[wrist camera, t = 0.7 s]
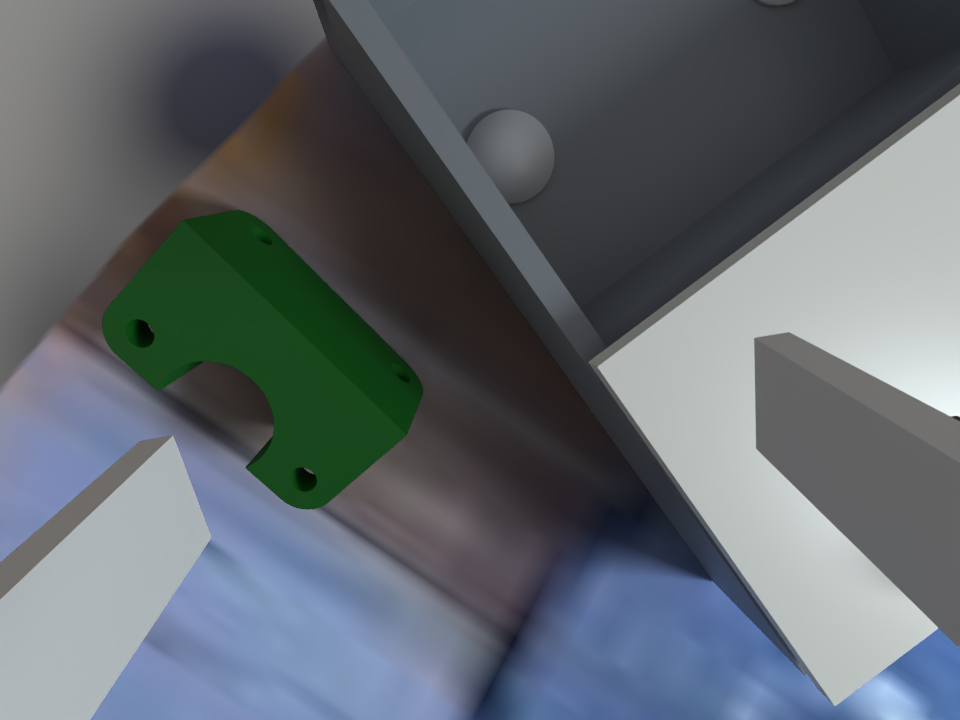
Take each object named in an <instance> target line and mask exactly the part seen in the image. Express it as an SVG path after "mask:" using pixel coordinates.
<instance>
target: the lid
mask: <svg viewBox="0 0 960 720" xmlns="http://www.w3.org/2000/svg"><path fill="white" fill-rule="evenodd" d="M786 332H790V333H792V334H794V335H796V336H798V337H800V338H801V339H803V340H805V341H807V342H809V343H811V344H813V345H815V346H817V347H819V348H821V349H822V350H824V351H826V352H828V353H830V354H832V355H834V356H836V357H838V358H840V359H842V360H843V361H845V362H847V363H849V364H851V365H853V366H855V367H857V368H859V369H861V370H863V371H864V372H866V373H868V374H870V375H872V376H874V377H876V378H878V379H880V380H882V381H884V382H885V383H887V384H889V385H891V386H893V387H895V388H897V389H899V390H901V391H903V392H905V393H906V394H908V395H910V396H912V397H914V398H916V399H918V400H920V401H922V402H924V403H926V404H927V405H929V406H931V407H933V408H935V409H937V410H939V411H941V412H943V413H945V414H947V415H948V416H950V417H951V416H959V417H960V84H958V85H957V86H956V87H954V88H953V89H952V90H950V91H949V92H948V93H946V94H945V95H944V96H942V97H941V98H940V99H938V100H937V101H936V102H934V103H933V104H932V105H930V106H929V107H928V108H926V109H925V110H924V111H922V112H921V113H920V114H918V115H917V116H916V117H914V118H913V119H912V120H910V121H909V122H908V123H906V124H905V125H904V126H902V127H901V128H900V129H898V130H897V131H896V132H894V133H893V134H892V135H890V136H889V137H888V138H886V139H885V140H884V141H882V142H881V143H880V144H878V145H877V146H876V147H874V148H873V149H872V150H870V151H869V152H868V153H866V154H865V155H864V156H862V157H861V158H860V159H858V160H857V161H856V162H854V163H853V164H852V165H850V166H849V167H848V168H846V169H845V170H844V171H842V172H841V173H840V174H838V175H837V176H836V177H834V178H833V179H832V180H830V181H829V182H828V183H826V184H825V185H824V186H822V187H821V188H820V189H818V190H817V191H816V192H814V193H813V194H812V195H810V196H809V197H808V198H806V199H805V200H804V201H802V202H801V203H800V204H798V205H797V206H796V207H794V208H793V209H792V210H790V211H789V212H788V213H786V214H785V215H784V216H782V217H781V218H780V219H778V220H777V221H776V222H774V223H773V224H772V225H770V226H769V227H768V228H766V229H765V230H764V231H762V232H761V233H760V234H758V235H757V236H756V237H754V238H753V239H752V240H750V241H749V242H748V243H746V244H745V245H744V246H742V247H741V248H740V249H738V250H737V251H736V252H734V253H733V254H732V255H730V256H729V257H728V258H726V259H725V260H724V261H722V262H721V263H720V264H718V265H717V266H716V267H714V268H713V269H712V270H710V271H709V272H708V273H706V274H705V275H704V276H702V277H701V278H700V279H698V280H697V281H696V282H694V283H693V284H692V285H690V286H689V287H688V288H686V289H685V290H684V291H682V292H681V293H680V294H678V295H677V296H676V297H674V298H673V299H672V300H670V301H669V302H668V303H666V304H665V305H664V306H662V307H661V308H660V309H658V310H657V311H656V312H654V313H653V314H652V315H650V316H649V317H648V318H646V319H645V320H644V321H642V322H641V323H640V324H638V325H637V326H636V327H634V328H633V329H632V330H630V331H629V332H628V333H626V334H625V335H624V336H622V337H621V338H620V339H618V340H617V341H616V342H614V343H613V344H612V345H610V346H609V347H608V348H606V349H605V350H604V351H602V352H601V353H600V354H598V355H597V356H596V357H594V358H593V359H592V360H590V361H589V364H590V365H591V367H592V368H593V370H594V371H595V372H596V374H597V375H598V377H599V378H600V380H601V381H602V382H603V384H604V385H605V387H606V388H607V390H608V391H609V392H610V394H611V395H612V397H613V398H614V400H615V401H616V402H617V404H618V405H619V407H620V408H621V409H622V411H623V412H624V414H625V415H626V417H627V418H628V419H629V421H630V422H631V424H632V425H633V427H634V428H635V429H636V431H637V432H638V434H639V435H640V437H641V438H642V439H643V441H644V442H645V444H646V445H647V447H648V448H649V449H650V451H651V452H652V454H653V455H654V456H655V458H656V459H657V461H658V462H659V464H660V465H661V466H662V468H663V469H664V471H665V472H666V474H667V475H668V476H669V478H670V479H671V481H672V482H673V484H674V485H675V486H676V488H677V489H678V491H679V492H680V494H681V495H682V496H683V498H684V499H685V501H686V502H687V504H688V505H689V506H690V508H691V509H692V511H693V512H694V513H695V515H696V516H697V518H698V519H699V521H700V522H701V523H702V525H703V526H704V528H705V529H706V531H707V532H708V533H709V535H710V536H711V538H712V539H713V541H714V542H715V543H716V545H717V546H718V548H719V549H720V551H721V552H722V553H723V555H724V556H725V558H726V559H727V560H728V562H729V563H730V565H731V566H732V568H733V569H734V570H735V572H736V573H737V575H738V576H739V578H740V579H741V580H742V582H743V583H744V585H745V586H746V588H747V589H748V590H749V592H750V593H751V595H752V596H753V598H754V599H755V600H756V602H757V603H758V605H759V606H760V607H761V609H762V610H763V612H764V613H765V615H766V616H767V617H768V619H769V620H770V622H771V623H772V625H773V626H774V627H775V629H776V630H777V632H778V633H779V635H780V636H781V637H782V639H783V640H784V642H785V643H786V645H787V646H788V647H789V649H790V650H791V652H792V653H793V654H794V656H795V657H796V659H797V660H798V662H799V663H800V664H801V666H802V667H803V669H804V670H805V672H806V673H807V674H808V676H809V677H810V679H811V680H812V682H813V683H814V684H815V686H816V687H817V689H818V690H819V691H820V692H821V693H822V694H823V695H824V696H825V697H826V698H827V699H828V700H829V701H830V702H831V703H832V704H833V705H834V706H836V705H837V704H839V703H840V702H841V701H843V700H844V699H845V698H847V697H848V696H849V695H851V694H852V693H853V692H855V691H856V690H857V689H859V688H860V687H861V686H863V685H864V684H865V683H867V682H868V681H869V680H871V679H872V678H873V677H875V676H876V675H877V674H878V673H880V672H881V671H882V670H884V669H885V668H886V667H888V666H889V665H890V664H892V663H893V662H894V661H896V660H897V659H898V658H900V657H901V656H902V655H904V654H905V653H906V652H908V651H909V650H910V649H912V648H913V647H914V646H916V645H917V644H918V643H920V642H921V641H922V640H923V639H925V638H926V637H927V636H929V635H930V634H931V633H933V632H934V631H935V630H937V629H938V627H937V626H936V625H935V624H934V623H933V622H932V621H931V620H930V619H929V618H928V617H927V616H926V615H925V614H924V613H923V612H922V611H921V610H920V609H919V608H918V607H917V606H916V605H915V604H914V603H913V602H912V601H911V600H910V599H909V598H908V597H907V596H906V595H905V594H904V593H903V592H902V591H901V590H900V589H899V588H897V587H896V586H895V585H894V584H893V583H892V582H891V581H890V580H889V579H888V578H887V577H886V576H885V575H884V574H883V573H882V572H881V571H880V570H879V569H878V568H877V567H876V566H875V565H874V564H873V563H872V562H871V561H870V560H869V559H868V558H867V557H866V556H865V555H864V554H863V553H862V552H861V551H860V550H859V549H858V548H857V547H856V546H855V545H854V544H853V543H852V542H851V541H850V540H849V539H848V538H847V537H845V536H844V535H843V534H842V533H841V532H840V531H839V530H838V529H837V528H836V527H835V526H834V525H833V524H832V523H831V522H830V521H829V520H828V519H827V518H826V517H825V516H824V515H823V514H822V513H821V512H820V511H819V510H818V509H817V508H816V507H815V506H814V505H813V504H812V503H811V502H810V501H809V500H808V499H807V498H806V497H805V496H804V495H803V494H802V493H801V492H800V491H799V490H798V489H797V488H796V487H794V486H793V485H792V484H791V483H790V482H789V481H788V480H787V479H786V478H785V477H784V476H783V475H782V474H781V473H780V472H779V471H778V470H777V469H776V468H775V467H774V466H773V465H772V464H771V463H770V462H769V461H768V460H767V459H766V458H765V457H764V456H763V455H762V454H761V453H760V452H759V451H758V450H757V449H756V413H755V357H754V338H756V337H762V336H768V335H774V334H780V333H786Z"/></svg>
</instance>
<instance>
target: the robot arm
mask: <svg viewBox="0 0 960 720" xmlns="http://www.w3.org/2000/svg"><path fill="white" fill-rule="evenodd" d="M754 357H755V413H756V449H757V450H758V451H759V452H760V453H761V454H762V455H763V456H764V457H765V458H766V459H767V460H768V461H769V462H770V463H771V464H772V465H773V466H774V467H775V468H776V469H777V470H778V471H779V472H780V473H781V474H782V475H783V476H784V477H785V478H786V479H787V480H788V481H789V482H790V483H791V484H792V485H793V486H794V487H796V488H797V489H798V490H799V491H800V492H801V493H802V494H803V495H804V496H805V497H806V498H807V499H808V500H809V501H810V502H811V503H812V504H813V505H814V506H815V507H816V508H817V509H818V510H819V511H820V512H821V513H822V514H823V515H824V516H825V517H826V518H827V519H828V520H829V521H830V522H831V523H832V524H833V525H834V526H835V527H836V528H837V529H838V530H839V531H840V532H841V533H842V534H843V535H844V536H845V537H847V538H848V539H849V540H850V541H851V542H852V543H853V544H854V545H855V546H856V547H857V548H858V549H859V550H860V551H861V552H862V553H863V554H864V555H865V556H866V557H867V558H868V559H869V560H870V561H871V562H872V563H873V564H874V565H875V566H876V567H877V568H878V569H879V570H880V571H881V572H882V573H883V574H884V575H885V576H886V577H887V578H888V579H889V580H890V581H891V582H892V583H893V584H894V585H895V586H896V587H897V588H899V589H900V590H901V591H902V592H903V593H904V594H905V595H906V596H907V597H908V598H909V599H910V600H911V601H912V602H913V603H914V604H915V605H916V606H917V607H918V608H919V609H920V610H921V611H922V612H923V613H924V614H925V615H926V616H927V617H928V618H929V619H930V620H931V621H932V622H933V623H934V624H935V625H936V626H937V627H938V628H939V629H940V630H941V631H942V632H943V633H944V634H945V635H946V636H947V637H948V638H950V639H951V640H952V641H953V642H954V643H955V644H956V645H957V646H958V647H959V648H960V417H959V416H951V417H950V416H948V415H947V414H945V413H943V412H941V411H939V410H937V409H935V408H933V407H931V406H929V405H927V404H926V403H924V402H922V401H920V400H918V399H916V398H914V397H912V396H910V395H908V394H906V393H905V392H903V391H901V390H899V389H897V388H895V387H893V386H891V385H889V384H887V383H885V382H884V381H882V380H880V379H878V378H876V377H874V376H872V375H870V374H868V373H866V372H864V371H863V370H861V369H859V368H857V367H855V366H853V365H851V364H849V363H847V362H845V361H843V360H842V359H840V358H838V357H836V356H834V355H832V354H830V353H828V352H826V351H824V350H822V349H821V348H819V347H817V346H815V345H813V344H811V343H809V342H807V341H805V340H803V339H801V338H800V337H798V336H796V335H794V334H792V333H790V332H786V333H780V334H774V335H768V336H762V337H756V338H754ZM210 539H211V535H210V532H209V530H208V527H207V524H206V522H205V519H204V516H203V514H202V511H201V508H200V506H199V503H198V500H197V498H196V495H195V492H194V490H193V487H192V484H191V482H190V479H189V476H188V474H187V471H186V468H185V466H184V463H183V460H182V458H181V455H180V452H179V450H178V447H177V444H176V442H175V439H174V436H167V437H161V438H155V439H149V440H143V441H140V442H139V443H137V444H136V445H135V446H134V447H133V448H132V449H130V450H129V451H128V452H127V453H126V454H125V455H124V456H122V457H121V458H120V459H119V460H118V461H117V462H115V463H114V464H113V465H112V466H111V467H110V468H109V469H107V470H106V471H105V472H104V473H103V474H102V475H101V476H99V477H98V478H97V479H96V480H95V481H94V482H92V483H91V484H90V485H89V486H88V487H87V488H86V489H84V490H83V491H82V492H81V493H80V494H79V495H78V496H76V497H75V498H74V499H73V500H72V501H71V502H69V503H68V504H67V505H66V506H65V507H64V508H63V509H61V510H60V511H59V512H58V513H57V514H56V515H55V516H53V517H52V518H51V519H50V520H49V521H48V522H46V523H45V524H44V525H43V526H42V527H41V528H40V529H38V530H37V531H36V532H35V533H34V534H33V535H32V536H30V537H29V538H28V539H27V540H26V541H25V542H23V543H22V544H21V545H20V546H19V547H18V548H17V549H15V550H14V551H13V552H12V553H11V554H10V555H9V556H7V557H6V558H5V559H4V560H3V561H2V562H0V720H90V719H91V718H92V716H93V715H94V713H95V712H96V710H97V709H98V707H99V706H100V704H101V703H102V701H103V700H104V698H105V697H106V695H107V694H108V692H109V691H110V689H111V688H112V686H113V685H114V683H115V682H116V680H117V679H118V677H119V676H120V674H121V673H122V671H123V670H124V668H125V667H126V665H127V664H128V662H129V661H130V659H131V658H132V656H133V655H134V653H135V652H136V650H137V649H138V647H139V646H140V644H141V643H142V641H143V640H144V638H145V637H146V635H147V634H148V632H149V631H150V629H151V628H152V626H153V625H154V623H155V622H156V620H157V619H158V617H159V616H160V614H161V613H162V611H163V610H164V608H165V607H166V605H167V604H168V602H169V601H170V599H171V598H172V596H173V595H174V593H175V592H176V590H177V589H178V587H179V586H180V584H181V583H182V581H183V580H184V578H185V577H186V575H187V574H188V572H189V571H190V569H191V568H192V566H193V565H194V563H195V562H196V560H197V559H198V557H199V556H200V554H201V553H202V551H203V550H204V548H205V547H206V545H207V544H208V542H209V541H210Z"/></svg>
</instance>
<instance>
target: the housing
mask: <svg viewBox="0 0 960 720" xmlns="http://www.w3.org/2000/svg"><path fill="white" fill-rule="evenodd" d="M313 1H314V4H315V7H316V9H317V12H318V15H319V18H320V21H321V24H322V27H323V29H324V32H325V35H326V38H327V41H328V44H329V45H330V47H331V48H332V50H333V51H334V52H335V54H336V55H337V57H338V58H339V59H340V61H341V62H342V64H343V65H344V66H345V68H346V69H347V71H348V72H349V73H350V75H351V76H352V78H353V79H354V80H355V82H356V83H357V85H358V86H359V87H360V89H361V90H362V91H363V93H364V94H365V96H366V97H367V98H368V100H369V101H370V103H371V104H372V105H373V107H374V108H375V110H376V111H377V112H378V114H379V115H380V117H381V118H382V119H383V121H384V122H385V124H386V125H387V126H388V128H389V129H390V131H391V132H392V133H393V135H394V136H395V138H396V139H397V140H398V142H399V143H400V145H401V146H402V147H403V149H404V150H405V152H406V153H407V154H408V156H409V157H410V159H411V160H412V161H413V163H414V164H415V166H416V167H417V168H418V170H419V171H420V173H421V174H422V175H423V177H424V178H425V180H426V181H427V182H428V184H429V185H430V186H431V188H432V189H433V191H434V192H435V193H436V195H437V196H438V198H439V199H440V200H441V202H442V203H443V205H444V206H445V207H446V209H447V210H448V212H449V213H450V214H451V216H452V217H453V219H454V220H455V221H456V223H457V224H458V226H459V227H460V228H461V230H462V231H463V233H464V234H465V235H466V237H467V238H468V240H469V241H470V242H471V244H472V245H473V247H474V248H475V249H476V251H477V252H478V254H479V255H480V256H481V258H482V259H483V261H484V262H485V263H486V265H487V266H488V268H489V269H490V270H491V272H492V273H493V275H494V276H495V277H496V279H497V280H498V281H499V283H500V284H501V286H502V287H503V288H504V290H505V291H506V293H507V294H508V295H509V297H510V298H511V300H512V301H513V302H514V304H515V305H516V307H517V308H518V309H519V311H520V312H521V314H522V315H523V316H524V318H525V319H526V321H527V322H528V323H529V325H530V326H531V328H532V329H533V330H534V332H535V333H536V335H537V336H538V337H539V339H540V340H541V342H542V343H543V344H544V346H545V347H546V349H547V350H548V351H549V353H550V354H551V356H552V357H553V358H554V360H555V361H556V363H557V364H558V365H559V367H560V368H561V370H562V371H563V372H564V374H565V375H566V376H567V378H568V379H569V381H570V382H571V383H572V385H573V386H574V388H575V389H576V390H577V392H578V393H579V395H580V396H581V397H582V399H583V400H584V402H585V403H586V404H587V406H588V407H589V409H590V410H591V411H592V413H593V414H594V416H595V417H596V418H597V420H598V421H599V423H600V424H601V425H602V427H603V428H604V430H605V431H606V432H607V434H608V435H609V437H610V438H611V439H612V441H613V442H614V444H615V445H616V446H617V448H618V449H619V451H620V452H621V453H622V455H623V456H624V458H625V459H626V460H627V462H628V463H629V465H630V466H631V467H632V469H633V470H634V472H635V473H636V474H637V476H638V477H639V478H640V480H641V481H642V483H643V484H644V485H645V487H646V488H647V490H648V491H649V492H650V494H651V495H652V497H653V498H654V499H655V501H656V502H657V504H658V505H659V506H660V508H661V509H662V511H663V512H664V513H665V515H666V516H667V518H668V519H669V520H670V522H671V523H672V525H673V526H674V527H675V529H676V530H677V532H678V533H679V534H680V536H681V537H682V539H683V540H684V541H685V543H686V544H687V546H688V547H689V548H690V550H691V551H692V553H693V554H694V555H695V557H696V558H697V560H698V561H699V562H700V564H701V565H702V567H703V568H704V569H705V571H706V572H707V573H708V575H709V576H710V578H711V579H712V580H713V582H714V583H715V584H716V585H717V586H718V587H719V588H720V589H721V590H722V591H723V592H724V593H725V594H726V595H727V596H728V597H729V598H730V599H731V600H732V601H733V602H734V603H735V604H736V605H737V607H738V608H739V609H740V610H741V611H742V612H743V613H744V614H745V615H746V616H747V617H748V618H749V619H750V620H751V621H752V622H753V623H754V624H755V625H756V626H757V627H758V628H759V629H760V630H761V631H762V632H763V633H764V634H765V635H766V636H767V637H768V638H769V639H770V640H771V641H772V642H773V643H774V644H775V646H776V647H777V648H778V649H779V650H780V651H781V652H782V653H783V654H784V655H785V656H786V657H787V658H788V659H789V660H790V661H791V662H792V663H793V664H794V665H795V666H796V667H797V668H798V669H799V670H800V671H801V672H802V673H803V674H804V675H805V674H807V673H806V672H805V670H804V669H803V667H802V666H801V664H800V663H799V662H798V660H797V659H796V657H795V656H794V654H793V653H792V652H791V650H790V649H789V647H788V646H787V645H786V643H785V642H784V640H783V639H782V637H781V636H780V635H779V633H778V632H777V630H776V629H775V627H774V626H773V625H772V623H771V622H770V620H769V619H768V617H767V616H766V615H765V613H764V612H763V610H762V609H761V607H760V606H759V605H758V603H757V602H756V600H755V599H754V598H753V596H752V595H751V593H750V592H749V590H748V589H747V588H746V586H745V585H744V583H743V582H742V580H741V579H740V578H739V576H738V575H737V573H736V572H735V570H734V569H733V568H732V566H731V565H730V563H729V562H728V560H727V559H726V558H725V556H724V555H723V553H722V552H721V551H720V549H719V548H718V546H717V545H716V543H715V542H714V541H713V539H712V538H711V536H710V535H709V533H708V532H707V531H706V529H705V528H704V526H703V525H702V523H701V522H700V521H699V519H698V518H697V516H696V515H695V513H694V512H693V511H692V509H691V508H690V506H689V505H688V504H687V502H686V501H685V499H684V498H683V496H682V495H681V494H680V492H679V491H678V489H677V488H676V486H675V485H674V484H673V482H672V481H671V479H670V478H669V476H668V475H667V474H666V472H665V471H664V469H663V468H662V466H661V465H660V464H659V462H658V461H657V459H656V458H655V456H654V455H653V454H652V452H651V451H650V449H649V448H648V447H647V445H646V444H645V442H644V441H643V439H642V438H641V437H640V435H639V434H638V432H637V431H636V429H635V428H634V427H633V425H632V424H631V422H630V421H629V419H628V418H627V417H626V415H625V414H624V412H623V411H622V409H621V408H620V407H619V405H618V404H617V402H616V401H615V400H614V398H613V397H612V395H611V394H610V392H609V391H608V390H607V388H606V387H605V385H604V384H603V382H602V381H601V380H600V378H599V377H598V375H597V374H596V372H595V371H594V370H593V368H592V367H591V365H590V364H589V361H590V360H592V359H593V358H594V357H596V356H597V355H598V354H600V353H601V352H602V351H604V350H605V349H606V348H608V347H609V346H610V345H612V344H613V343H614V342H616V341H617V340H618V339H620V338H621V337H622V336H624V335H625V334H626V333H628V332H629V331H630V330H632V329H633V328H634V327H636V326H637V325H638V324H640V323H641V322H642V321H644V320H645V319H646V318H648V317H649V316H650V315H652V314H653V313H654V312H656V311H657V310H658V309H660V308H661V307H662V306H664V305H665V304H666V303H668V302H669V301H670V300H672V299H673V298H674V297H676V296H677V295H678V294H680V293H681V292H682V291H684V290H685V289H686V288H688V287H689V286H690V285H692V284H693V283H694V282H696V281H697V280H698V279H700V278H701V277H702V276H704V275H705V274H706V273H708V272H709V271H710V270H712V269H713V268H714V267H716V266H717V265H718V264H720V263H721V262H722V261H724V260H725V259H726V258H728V257H729V256H730V255H732V254H733V253H734V252H736V251H737V250H738V249H740V248H741V247H742V246H744V245H745V244H746V243H748V242H749V241H750V240H752V239H753V238H754V237H756V236H757V235H758V234H760V233H761V232H762V231H764V230H765V229H766V228H768V227H769V226H770V225H772V224H773V223H774V222H776V221H777V220H778V219H780V218H781V217H782V216H784V215H785V214H786V213H788V212H789V211H790V210H792V209H793V208H794V207H796V206H797V205H798V204H800V203H801V202H802V201H804V200H805V199H806V198H808V197H809V196H810V195H812V194H813V193H814V192H816V191H817V190H818V189H820V188H821V187H822V186H824V185H825V184H826V183H828V182H829V181H830V180H832V179H833V178H834V177H836V176H837V175H838V174H840V173H841V172H842V171H844V170H845V169H846V168H848V167H849V166H850V165H852V164H853V163H854V162H856V161H857V160H858V159H860V158H861V157H862V156H864V155H865V154H866V153H868V152H869V151H870V150H872V149H873V148H874V147H876V146H877V145H878V144H880V143H881V142H882V141H884V140H885V139H886V138H888V137H889V136H890V135H892V134H893V133H894V132H896V131H897V130H898V129H900V128H901V127H902V126H904V125H905V124H906V123H908V122H909V121H910V120H912V119H913V118H914V117H916V116H917V115H918V114H920V113H921V112H922V111H924V110H925V109H926V108H928V107H929V106H930V105H932V104H933V103H934V102H936V101H937V100H938V99H940V98H941V97H942V96H944V95H945V94H946V93H948V92H949V91H950V90H952V89H953V88H954V87H956V86H957V85H958V84H960V0H313Z"/></svg>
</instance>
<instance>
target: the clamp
mask: <svg viewBox="0 0 960 720" xmlns="http://www.w3.org/2000/svg"><path fill="white" fill-rule="evenodd" d="M147 323H148V324H149V325H150V326H151V327H152V329H153V331H154V333H152V332H151V330H150V329H149V327H148V324H147ZM102 328H103V333H104V337H105V339H106V341H107V343H108V345H109V347H110V348H111V349H112V351H113V352H114V353H115V354H116V355H117V356H118V357H119V358H121V359H122V360H123V361H124V362H125V363H126V364H127V365H129V366H130V367H131V368H132V369H133V370H134V371H135V372H137V373H138V374H139V375H140V376H141V377H142V378H143V379H145V380H146V381H147V382H148V383H149V384H150V385H151V386H152V387H154V388H155V389H156V390H157V391H159V390H161V389H162V388H164V387H165V386H167V385H169V384H170V383H172V382H173V381H175V380H176V379H178V378H179V377H181V376H182V375H184V374H185V373H187V372H189V371H190V370H192V369H193V368H195V367H196V366H198V365H199V364H201V363H202V362H204V361H211V362H218V363H222V364H225V365H228V366H231V367H233V368H235V369H237V370H239V371H241V372H242V373H244V374H245V375H247V376H248V377H249V378H250V379H251V380H253V381H254V382H255V383H256V384H257V385H258V387H259V388H260V389H261V390H262V392H263V393H264V395H265V396H266V398H267V400H268V402H269V404H270V407H271V410H272V413H273V418H274V433H273V436H272V438H271V439H270V440H269V441H268V442H267V443H266V444H265V446H264V447H263V448H262V449H261V450H260V451H259V452H258V454H257V455H256V456H255V457H254V458H253V459H252V460H251V462H250V463H249V464H248V465H247V466H246V467H245V468H246V469H247V470H248V471H250V472H251V473H252V474H253V475H254V476H255V477H256V478H258V479H259V480H260V481H261V482H262V483H263V484H264V485H266V486H267V487H268V488H269V489H270V490H271V491H272V492H274V493H275V494H276V495H277V496H278V497H279V498H280V499H282V500H283V501H284V502H286V503H287V504H289V505H291V506H293V507H296V508H300V509H316V508H319V507H322V506H324V505H325V504H327V503H328V502H329V501H331V500H332V499H333V498H334V497H335V496H336V495H337V494H339V493H340V492H341V491H342V490H343V489H344V488H346V487H347V486H348V485H349V484H350V483H351V482H353V481H354V480H355V479H356V478H357V477H358V476H360V475H361V474H362V473H363V472H364V471H365V470H367V469H368V468H369V467H370V466H371V465H372V464H373V463H375V462H376V461H377V460H378V459H379V458H380V457H382V456H383V455H384V454H385V453H386V452H387V451H389V450H390V449H391V448H392V447H393V446H394V445H396V444H397V443H398V442H399V441H400V440H401V439H403V438H404V437H405V436H406V435H407V433H408V430H409V428H410V425H411V423H412V420H413V418H414V415H415V413H416V410H417V407H418V405H419V402H420V400H421V397H422V395H423V388H422V385H421V382H420V380H419V378H418V377H417V375H416V374H415V372H414V371H413V370H412V369H411V367H410V366H409V365H408V364H407V363H406V362H405V361H404V360H403V359H402V358H401V357H400V356H399V355H398V354H397V353H396V352H395V351H394V350H393V349H392V348H391V347H390V346H389V345H388V344H387V343H386V342H385V341H384V340H383V339H382V338H381V337H380V336H379V335H378V334H377V333H376V332H375V331H374V330H373V329H372V328H371V327H370V326H369V325H368V324H367V323H366V322H365V321H364V320H363V319H362V318H361V317H360V316H359V315H358V314H357V313H356V312H355V311H354V310H353V309H352V308H351V307H350V306H349V305H348V304H347V303H346V302H345V301H344V300H343V299H342V298H341V297H340V296H339V295H338V294H336V293H335V292H334V291H333V290H332V289H331V288H330V287H329V286H328V285H327V284H326V283H325V282H324V281H323V280H322V279H321V278H320V277H319V276H318V275H317V274H316V273H315V272H314V271H313V270H312V269H311V268H310V267H309V266H308V265H307V264H306V263H305V262H304V261H303V260H302V259H301V258H300V257H299V256H298V255H297V254H296V253H295V252H294V251H293V250H292V249H291V248H290V247H289V246H288V245H287V244H286V243H285V242H284V241H283V240H282V239H281V238H280V237H279V236H278V235H277V234H276V233H275V232H274V231H273V230H272V229H271V228H270V227H269V226H268V225H266V224H265V223H264V222H262V221H261V220H260V219H258V218H257V217H255V216H253V215H251V214H249V213H247V212H245V211H241V210H235V211H230V212H224V213H219V214H213V215H208V216H202V217H197V218H191V219H186V220H182V222H181V223H180V224H179V225H178V226H177V227H176V229H175V230H174V231H173V232H172V233H171V234H170V236H169V237H168V238H167V239H166V240H165V241H164V242H163V244H162V245H161V246H160V247H159V248H158V249H157V251H156V252H155V253H154V254H153V255H152V256H151V258H150V259H149V260H148V261H147V262H146V263H145V265H144V266H143V267H142V268H141V269H140V270H139V272H138V273H137V274H136V275H135V276H134V277H133V279H132V280H131V281H130V282H129V283H128V284H127V285H126V287H125V288H124V289H123V290H122V291H121V292H120V294H119V295H118V296H117V297H116V298H115V299H114V301H113V302H112V303H111V304H110V305H109V306H108V308H107V309H106V311H105V313H104V316H103V321H102ZM304 468H307V469H309V470H311V471H312V472H313V473H314V474H311V473H309V472H307V471H306V470H305V469H304Z"/></svg>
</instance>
